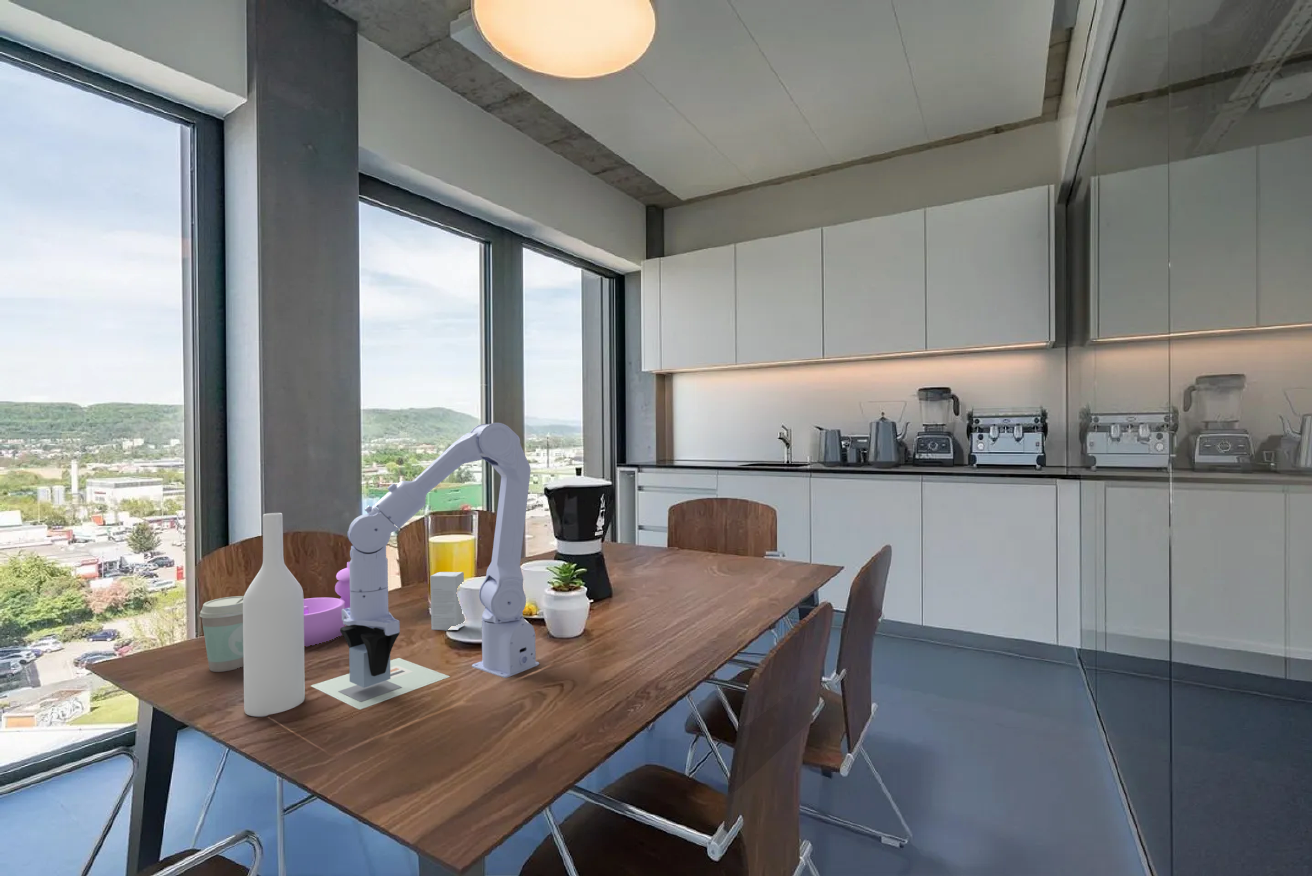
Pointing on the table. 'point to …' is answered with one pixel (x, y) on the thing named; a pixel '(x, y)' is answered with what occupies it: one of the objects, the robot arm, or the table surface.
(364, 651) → the blue-grey rectangular block
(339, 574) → the container set
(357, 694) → the mat
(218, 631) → the coffee cup
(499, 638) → the robot arm
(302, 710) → the table surface
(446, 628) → the skincare box
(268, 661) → the bottle
